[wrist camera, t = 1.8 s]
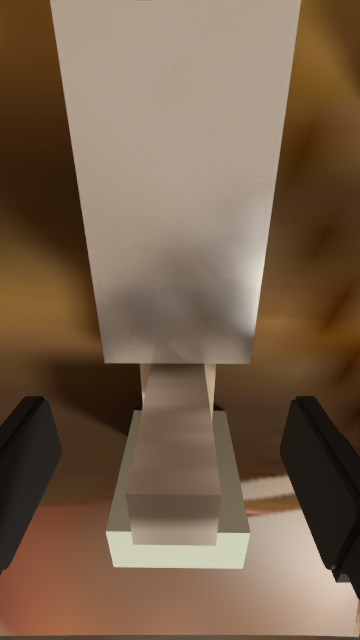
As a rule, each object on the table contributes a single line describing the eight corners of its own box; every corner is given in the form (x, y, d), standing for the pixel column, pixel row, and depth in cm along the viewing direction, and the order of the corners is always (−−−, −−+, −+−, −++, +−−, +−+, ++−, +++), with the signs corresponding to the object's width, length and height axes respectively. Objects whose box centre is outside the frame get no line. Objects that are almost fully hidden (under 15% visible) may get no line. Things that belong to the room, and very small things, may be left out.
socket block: (225, 410, 22) (250, 533, 14) (222, 442, 24) (242, 568, 16) (134, 410, 22) (105, 531, 14) (137, 442, 24) (113, 567, 16)
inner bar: (222, 98, 11) (414, -413, 2) (205, 406, 18) (227, 605, 9) (134, 98, 11) (-96, -402, 2) (152, 406, 18) (123, 603, 9)
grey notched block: (256, 96, 13) (351, -39, 6) (236, 297, 18) (274, 364, 10) (102, 97, 13) (1, -36, 6) (122, 297, 18) (80, 362, 10)
